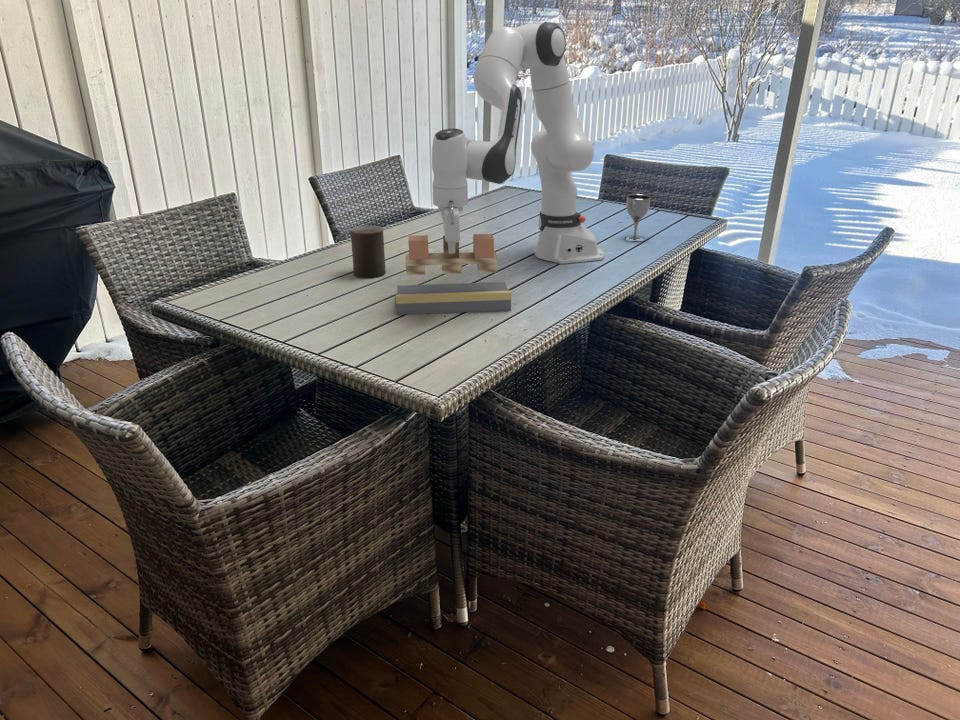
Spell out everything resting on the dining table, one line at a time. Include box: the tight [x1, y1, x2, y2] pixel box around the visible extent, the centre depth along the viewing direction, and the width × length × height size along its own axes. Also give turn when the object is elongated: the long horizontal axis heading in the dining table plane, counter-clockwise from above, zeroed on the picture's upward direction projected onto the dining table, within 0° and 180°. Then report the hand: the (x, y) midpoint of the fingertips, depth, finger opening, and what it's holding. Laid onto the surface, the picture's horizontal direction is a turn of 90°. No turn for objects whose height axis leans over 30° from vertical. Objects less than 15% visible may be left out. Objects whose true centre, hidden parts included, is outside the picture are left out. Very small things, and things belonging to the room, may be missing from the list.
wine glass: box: [626, 193, 652, 240], centre depth 235 cm, size 8×8×15 cm
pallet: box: [404, 235, 499, 276], centre depth 178 cm, size 24×6×9 cm, turn 95°
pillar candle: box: [350, 225, 386, 279], centre depth 203 cm, size 10×10×15 cm
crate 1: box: [408, 234, 429, 260], centre depth 176 cm, size 5×5×5 cm
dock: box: [395, 281, 512, 315], centre depth 183 cm, size 30×14×5 cm, turn 95°
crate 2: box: [472, 233, 495, 258], centre depth 177 cm, size 5×5×5 cm
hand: (451, 249), depth 177 cm, fingers closed on pallet, 3 cm apart
